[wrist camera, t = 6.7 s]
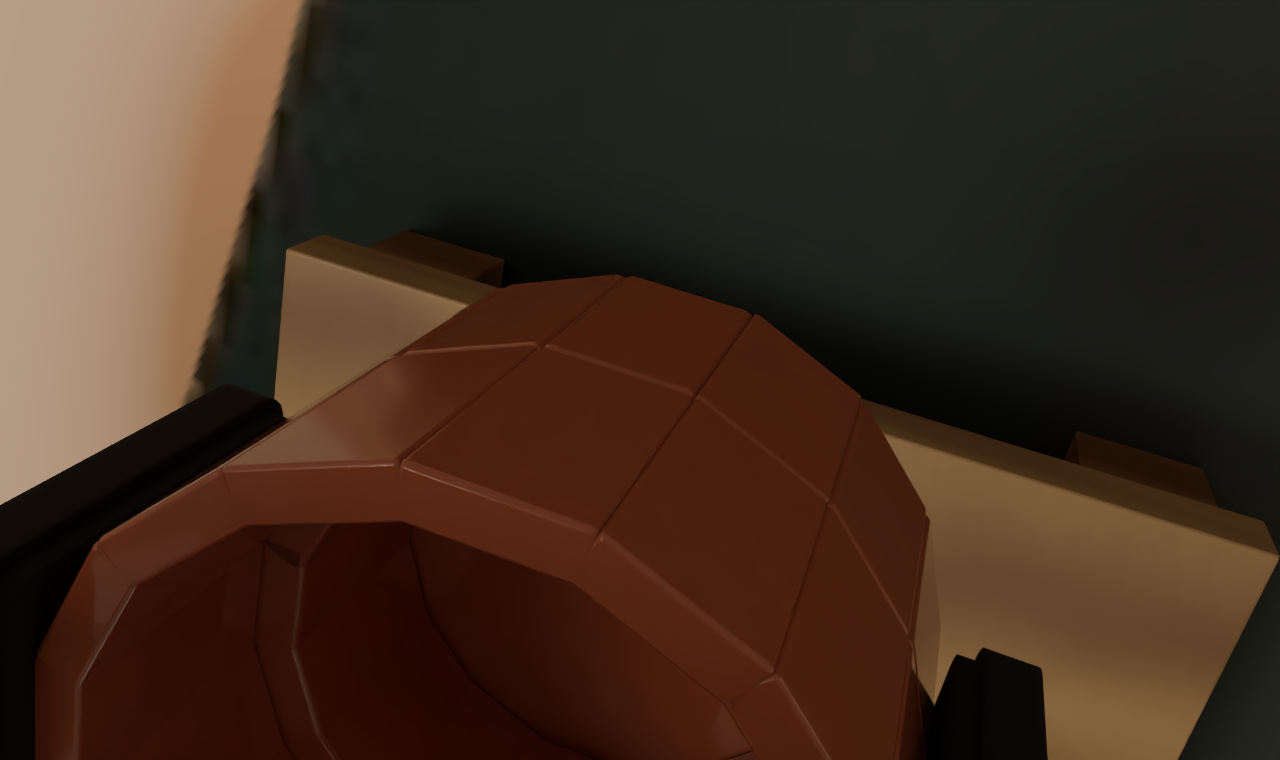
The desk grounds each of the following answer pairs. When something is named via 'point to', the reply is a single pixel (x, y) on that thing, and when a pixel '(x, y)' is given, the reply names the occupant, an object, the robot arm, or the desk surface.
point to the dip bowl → (523, 560)
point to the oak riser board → (955, 504)
